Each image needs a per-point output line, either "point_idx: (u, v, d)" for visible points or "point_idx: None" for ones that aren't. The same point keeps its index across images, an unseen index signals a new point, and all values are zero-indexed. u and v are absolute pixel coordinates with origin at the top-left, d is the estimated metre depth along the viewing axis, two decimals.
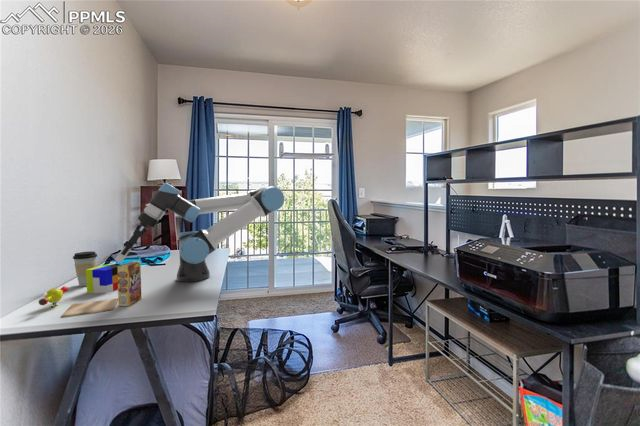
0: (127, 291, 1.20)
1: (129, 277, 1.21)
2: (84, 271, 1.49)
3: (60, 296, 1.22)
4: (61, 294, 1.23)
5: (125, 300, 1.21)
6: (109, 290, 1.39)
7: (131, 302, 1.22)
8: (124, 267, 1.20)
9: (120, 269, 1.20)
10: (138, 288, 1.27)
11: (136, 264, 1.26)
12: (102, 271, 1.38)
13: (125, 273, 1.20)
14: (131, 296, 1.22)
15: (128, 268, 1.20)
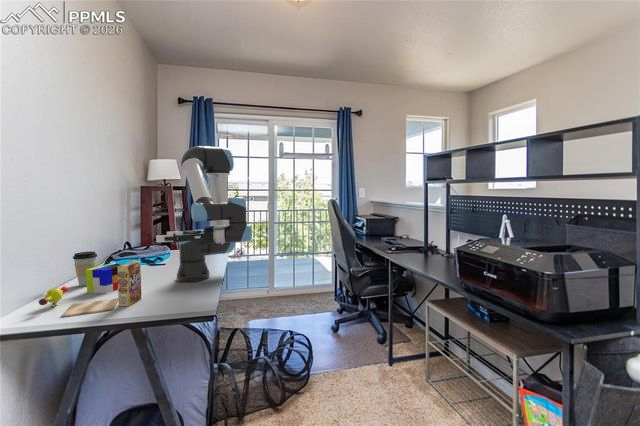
0: (127, 291, 1.20)
1: (129, 277, 1.21)
2: (84, 271, 1.49)
3: (60, 296, 1.22)
4: (61, 294, 1.23)
5: (125, 300, 1.21)
6: (109, 290, 1.39)
7: (131, 302, 1.22)
8: (124, 267, 1.20)
9: (120, 269, 1.20)
10: (138, 288, 1.27)
11: (136, 264, 1.26)
12: (102, 271, 1.38)
13: (125, 273, 1.20)
14: (131, 296, 1.22)
15: (128, 268, 1.20)
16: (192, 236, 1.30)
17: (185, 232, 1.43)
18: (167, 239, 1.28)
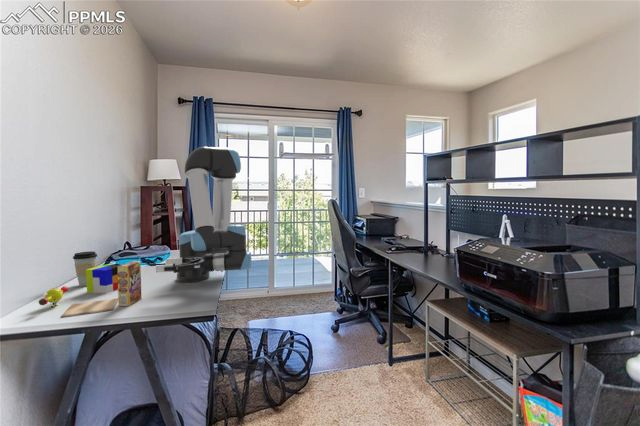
0: (127, 291, 1.20)
1: (129, 277, 1.21)
2: (84, 271, 1.49)
3: (60, 296, 1.22)
4: (61, 294, 1.23)
5: (125, 300, 1.21)
6: (109, 290, 1.39)
7: (131, 302, 1.22)
8: (124, 267, 1.20)
9: (120, 269, 1.20)
10: (138, 288, 1.27)
11: (136, 264, 1.26)
12: (102, 271, 1.38)
13: (125, 273, 1.20)
14: (131, 296, 1.22)
15: (128, 268, 1.20)
16: (192, 266, 1.30)
17: (184, 259, 1.43)
18: (167, 269, 1.28)
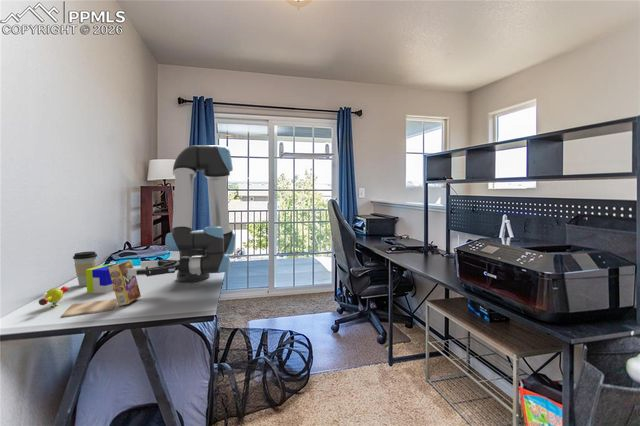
0: (124, 290, 1.20)
1: (122, 275, 1.21)
2: (84, 271, 1.49)
3: (60, 296, 1.22)
4: (61, 294, 1.23)
5: (123, 299, 1.21)
6: (109, 290, 1.39)
7: (130, 300, 1.22)
8: (115, 266, 1.20)
9: (111, 269, 1.20)
10: (135, 286, 1.27)
11: (127, 263, 1.26)
12: (102, 271, 1.38)
13: (117, 272, 1.20)
14: (129, 294, 1.22)
15: (119, 267, 1.20)
16: (166, 269, 1.25)
17: (160, 262, 1.38)
18: (139, 273, 1.23)
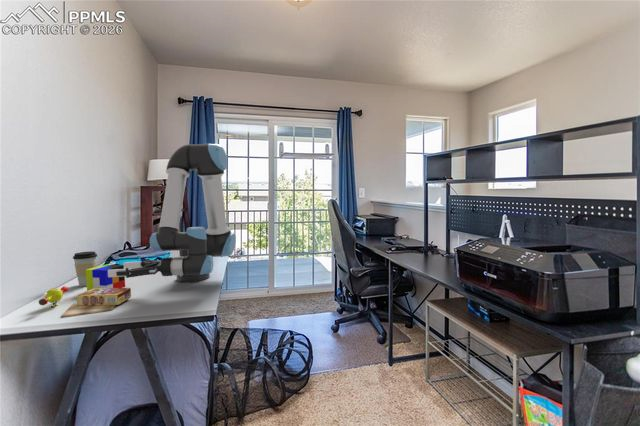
0: (102, 295, 1.20)
1: (89, 294, 1.21)
2: (84, 271, 1.49)
3: (60, 296, 1.22)
4: (61, 294, 1.23)
5: (111, 298, 1.20)
6: None
7: (117, 293, 1.22)
8: (78, 298, 1.20)
9: (79, 303, 1.20)
10: (115, 289, 1.27)
11: None
12: (102, 271, 1.38)
13: (83, 297, 1.20)
14: (111, 293, 1.22)
15: (79, 295, 1.21)
16: (146, 270, 1.24)
17: (143, 263, 1.37)
18: (119, 274, 1.22)
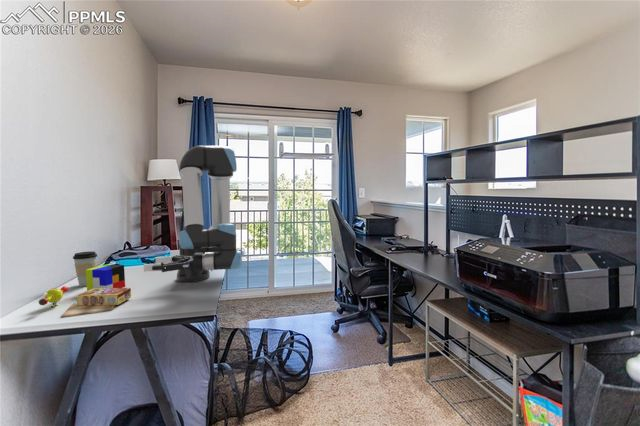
0: (102, 295, 1.20)
1: (89, 294, 1.21)
2: (84, 271, 1.49)
3: (60, 296, 1.22)
4: (61, 294, 1.23)
5: (111, 298, 1.20)
6: None
7: (117, 293, 1.22)
8: (78, 298, 1.20)
9: (79, 303, 1.20)
10: (115, 289, 1.27)
11: None
12: (102, 271, 1.38)
13: (83, 297, 1.20)
14: (111, 293, 1.22)
15: (79, 295, 1.21)
16: (180, 265, 1.29)
17: (174, 258, 1.41)
18: (155, 268, 1.26)
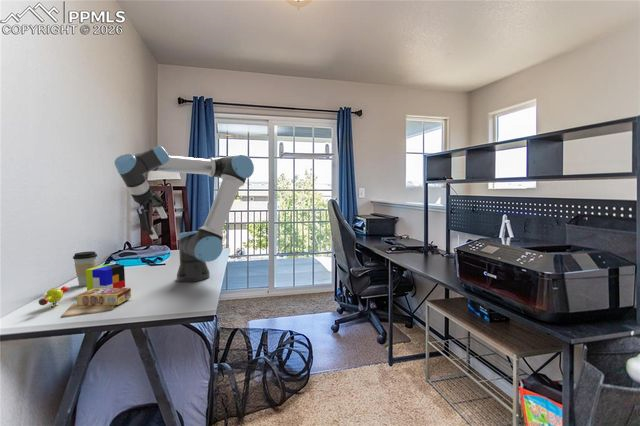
0: (102, 295, 1.20)
1: (89, 294, 1.21)
2: (84, 271, 1.49)
3: (60, 296, 1.22)
4: (61, 294, 1.23)
5: (111, 298, 1.20)
6: None
7: (117, 293, 1.22)
8: (78, 298, 1.20)
9: (79, 303, 1.20)
10: (115, 289, 1.27)
11: None
12: (102, 271, 1.38)
13: (83, 297, 1.20)
14: (111, 293, 1.22)
15: (79, 295, 1.21)
16: None
17: None
18: None
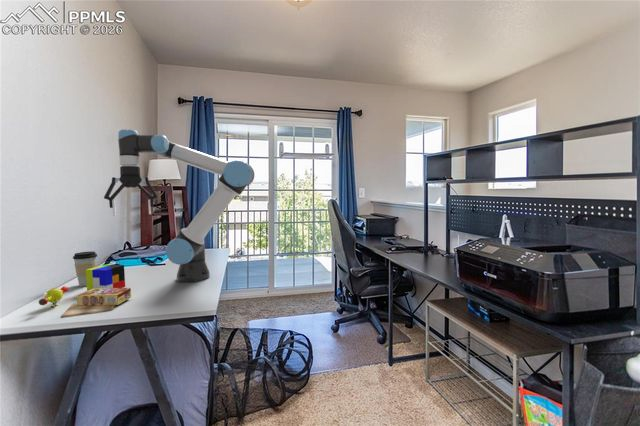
0: (102, 295, 1.20)
1: (89, 294, 1.21)
2: (84, 271, 1.49)
3: (60, 296, 1.22)
4: (61, 294, 1.23)
5: (111, 298, 1.20)
6: None
7: (117, 293, 1.22)
8: (77, 298, 1.20)
9: (79, 303, 1.20)
10: (115, 289, 1.27)
11: None
12: (102, 271, 1.38)
13: (83, 298, 1.20)
14: (111, 293, 1.22)
15: (79, 295, 1.21)
16: (149, 183, 1.45)
17: (114, 197, 1.39)
18: None
